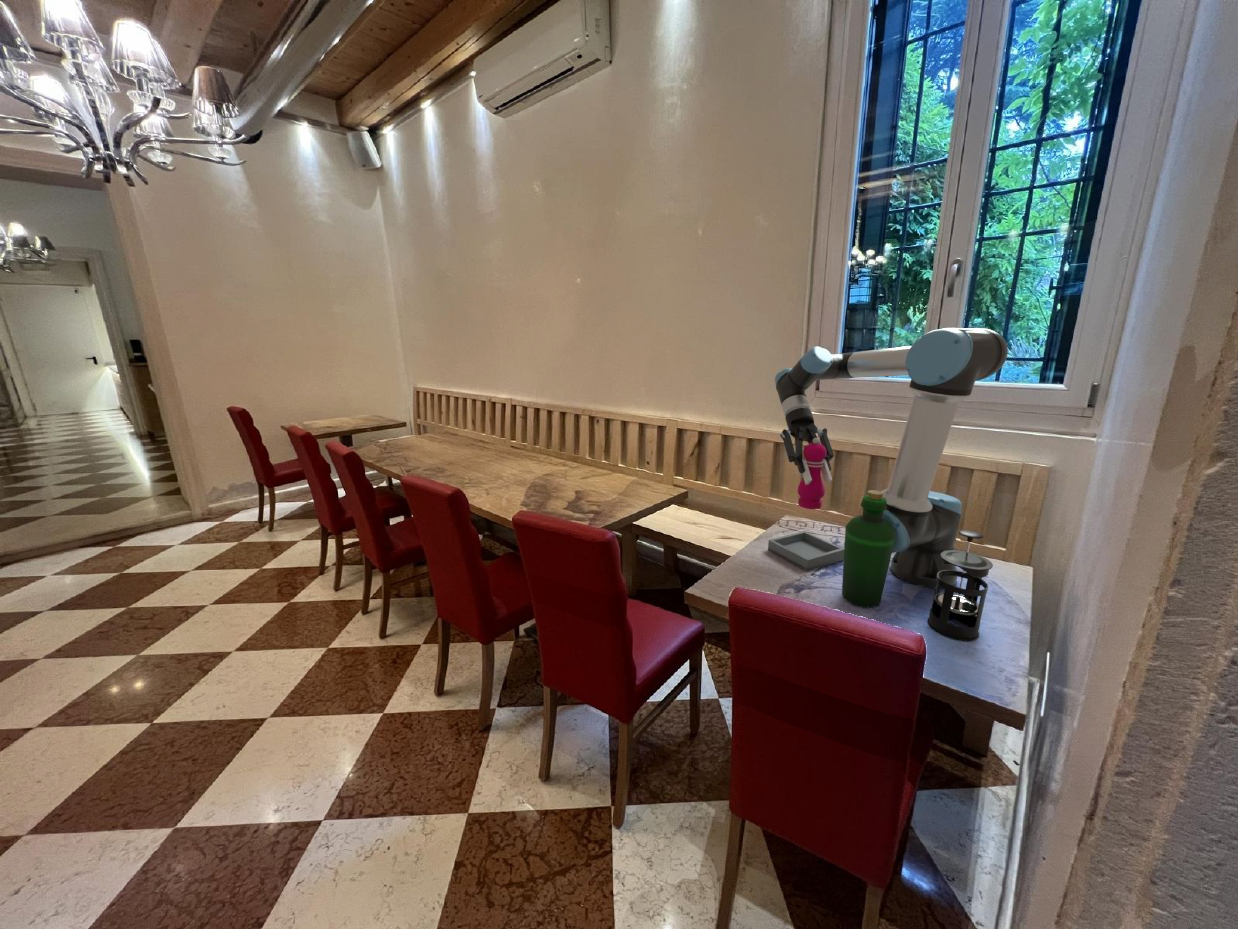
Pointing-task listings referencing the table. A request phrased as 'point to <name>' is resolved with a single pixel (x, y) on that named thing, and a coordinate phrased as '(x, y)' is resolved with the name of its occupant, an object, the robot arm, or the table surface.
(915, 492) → the robot arm
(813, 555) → the tray
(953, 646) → the table surface
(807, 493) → the pepper mill
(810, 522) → the table surface
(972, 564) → the french press
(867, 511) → the bottle
